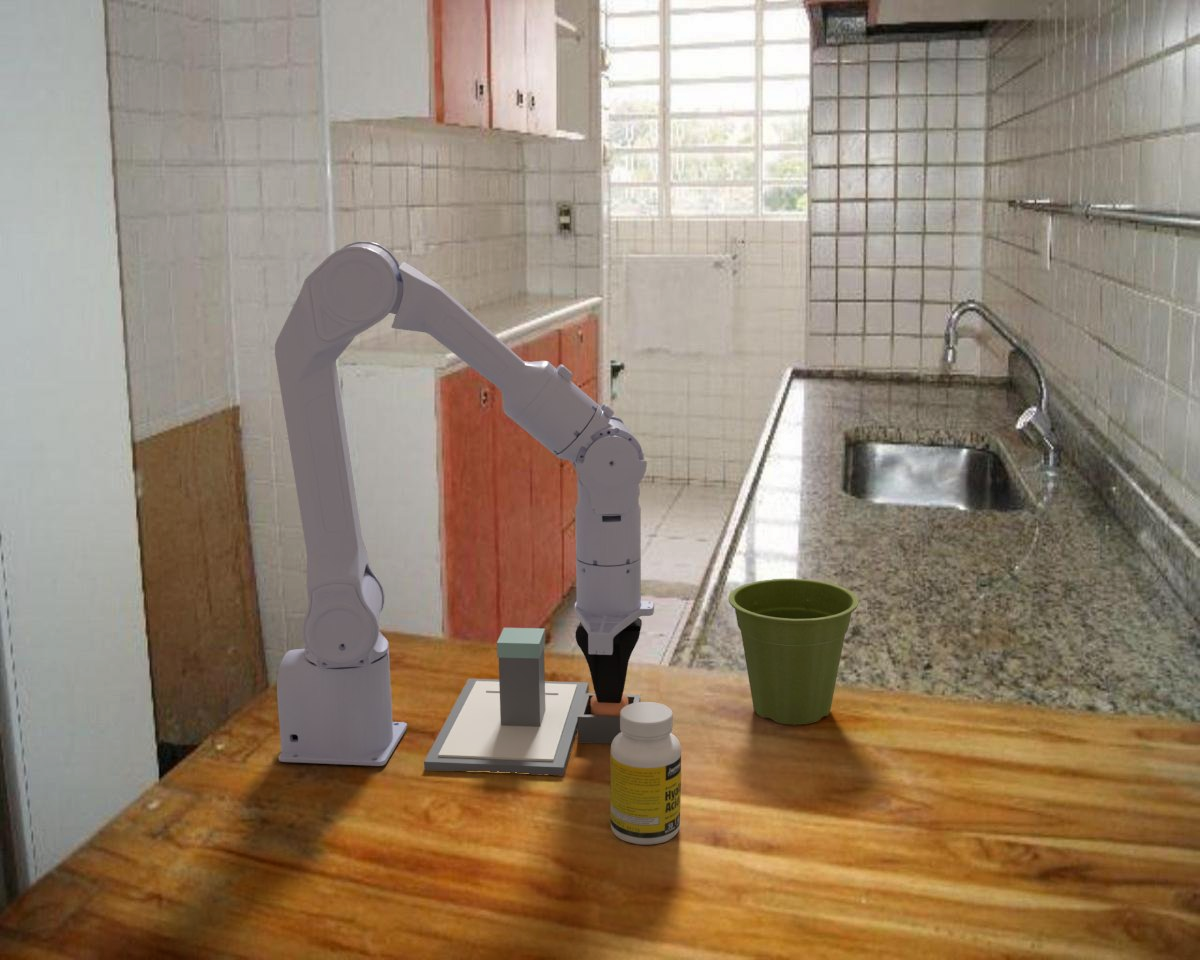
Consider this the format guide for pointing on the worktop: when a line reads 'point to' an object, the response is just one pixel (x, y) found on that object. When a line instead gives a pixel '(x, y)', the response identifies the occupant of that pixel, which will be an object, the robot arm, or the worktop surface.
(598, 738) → the button housing
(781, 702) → the plant pot
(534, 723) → the block
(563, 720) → the sketch board
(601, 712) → the button
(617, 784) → the supplement bottle
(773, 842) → the worktop surface
